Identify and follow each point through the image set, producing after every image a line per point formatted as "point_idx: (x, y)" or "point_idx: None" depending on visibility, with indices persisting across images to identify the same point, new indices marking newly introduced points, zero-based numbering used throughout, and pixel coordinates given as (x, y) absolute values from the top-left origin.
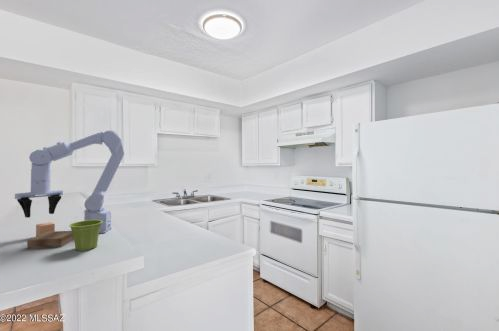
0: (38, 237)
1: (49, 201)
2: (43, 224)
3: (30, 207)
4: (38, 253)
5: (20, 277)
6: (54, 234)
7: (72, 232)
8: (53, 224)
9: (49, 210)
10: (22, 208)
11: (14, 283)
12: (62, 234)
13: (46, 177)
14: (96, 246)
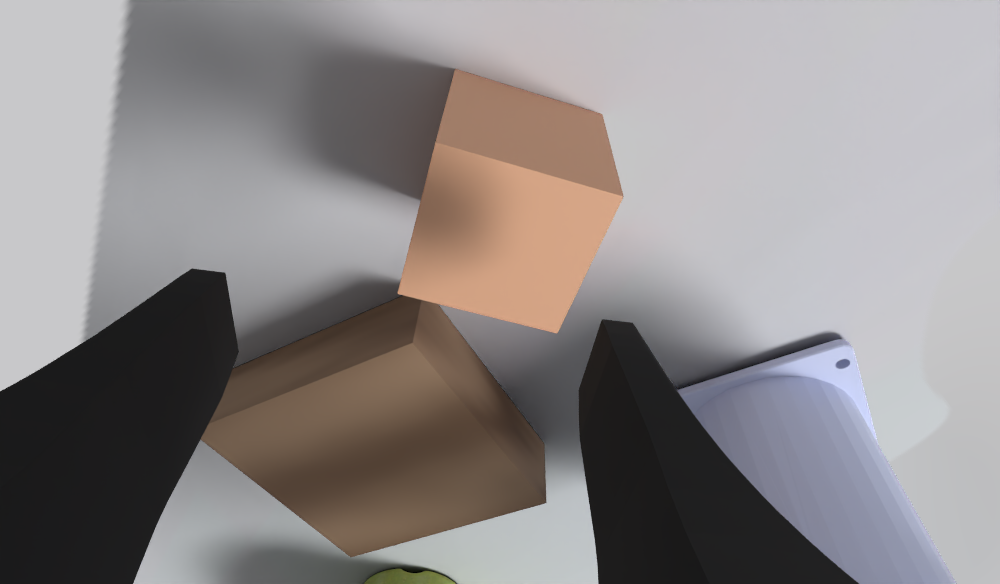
0: (274, 436)
1: (671, 555)
2: (479, 242)
3: (144, 547)
4: (232, 487)
5: None
6: (389, 464)
7: (492, 516)
8: (544, 325)
9: (611, 370)
10: (28, 384)
11: None
12: (416, 507)
13: None
14: None
